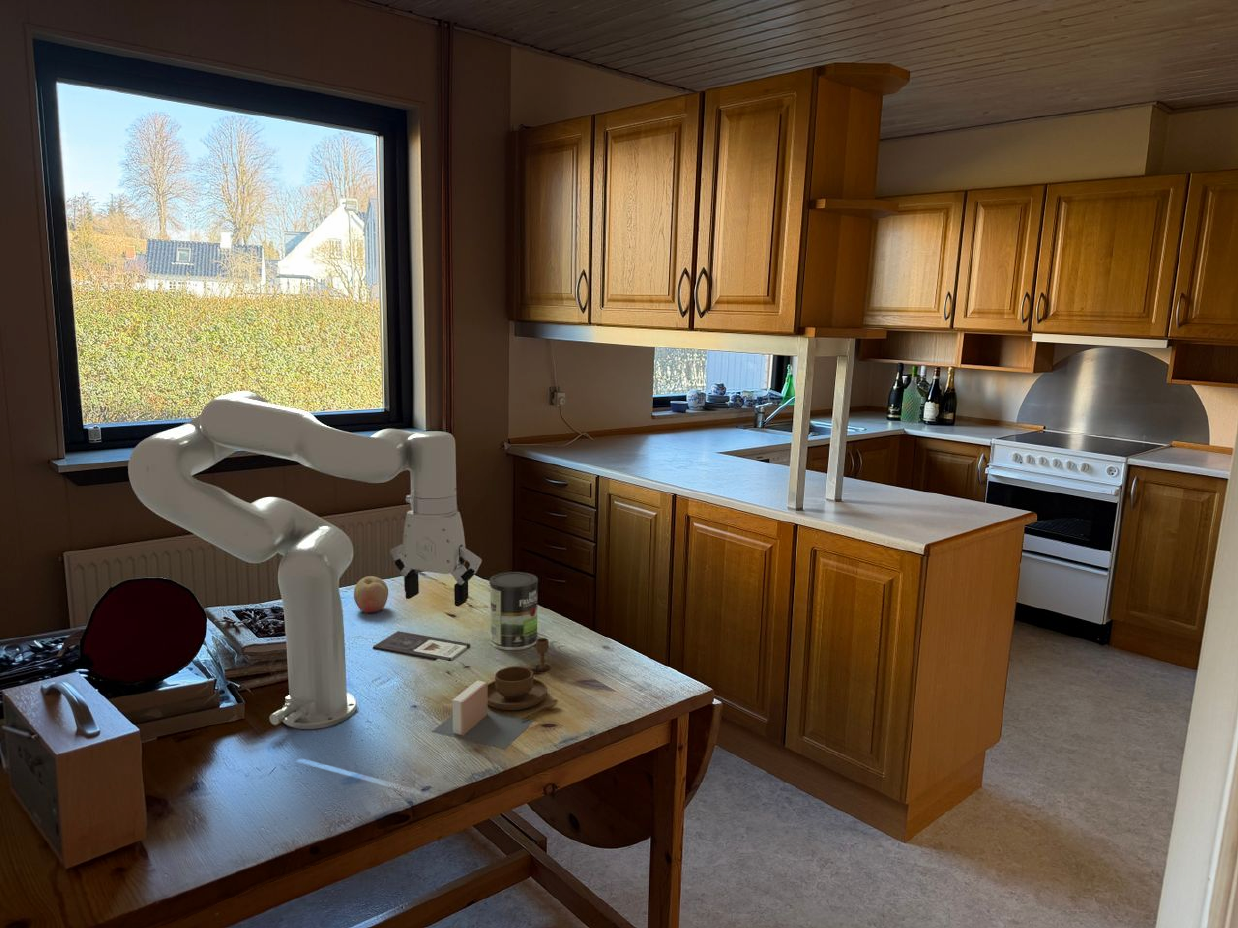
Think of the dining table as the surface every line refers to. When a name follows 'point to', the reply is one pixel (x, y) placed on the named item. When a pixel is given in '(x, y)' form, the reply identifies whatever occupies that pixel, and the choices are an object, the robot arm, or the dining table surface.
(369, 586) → the fruit
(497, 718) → the mat
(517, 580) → the coffee can
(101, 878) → the dining table surface
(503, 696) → the place setting
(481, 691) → the tile
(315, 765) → the dining table surface
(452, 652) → the chocolate bar
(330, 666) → the robot arm
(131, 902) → the dining table surface
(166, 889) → the dining table surface
